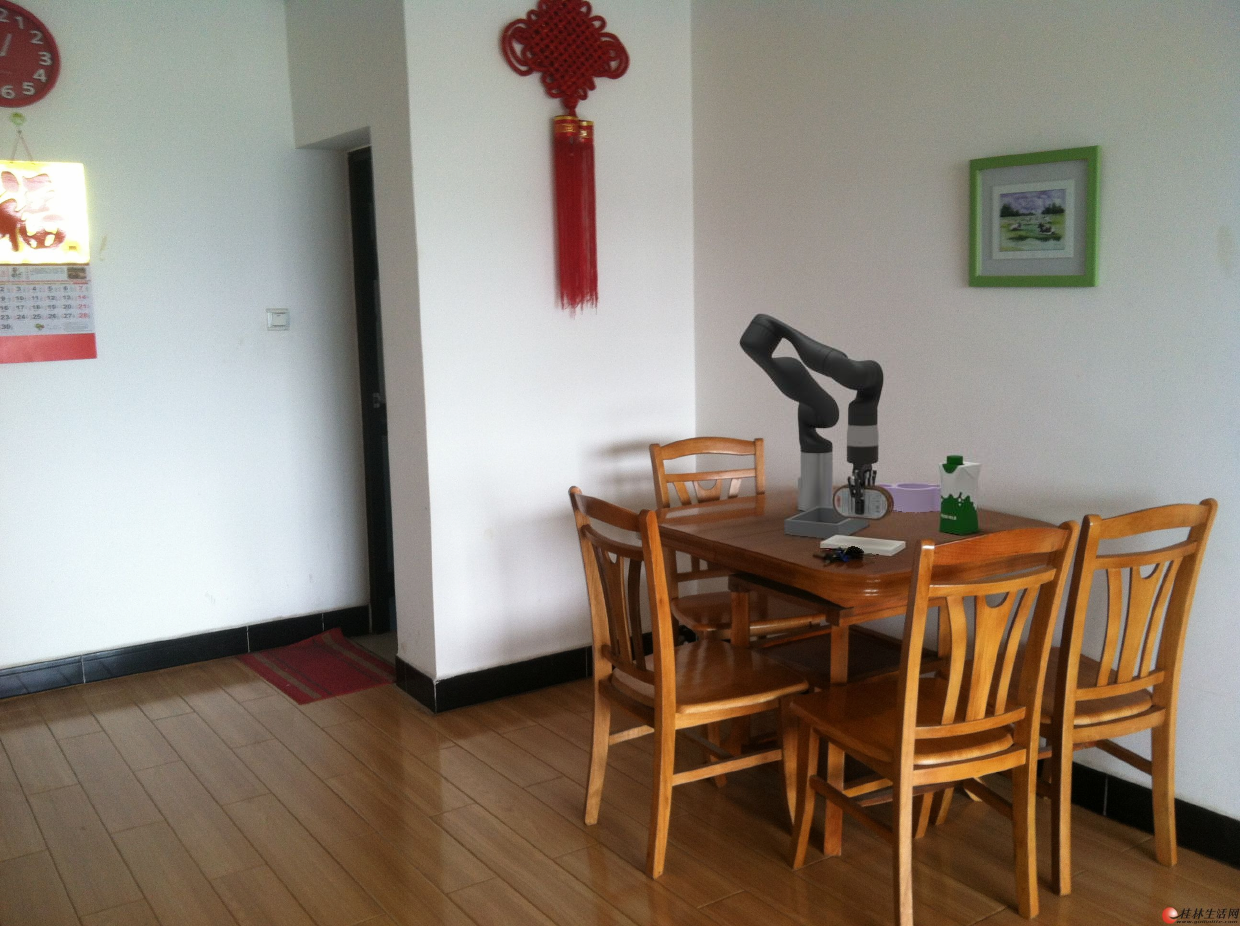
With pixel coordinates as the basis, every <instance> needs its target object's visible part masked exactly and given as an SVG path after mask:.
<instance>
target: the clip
mask: <svg viewBox="0 0 1240 926" xmlns="http://www.w3.org/2000/svg"><path fill="white" fill-rule="evenodd" d="M875 486H880V487H883V488H885V489H887V490H888V491H889V492H890V494H891V495H892V497H893V500H894V508H893V510H897V511H896V512H898V511H902V512H901V513H906V512H915V513H914V514H921V513H920V512H927V513H930V512H929V511H933V512H937V511H941V483H927V482H918V481H917V482H912V481H911V482H909V481H908V482H897V483H875ZM917 512H919V513H917Z"/></svg>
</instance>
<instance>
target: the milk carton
mask: <svg viewBox="0 0 1240 926" xmlns="http://www.w3.org/2000/svg"><path fill="white" fill-rule="evenodd" d="M981 469H982V463H979V462H971V461H964V456H963V455H960V454H959V455H958V454H957V455H956V454H954V455H953V454H951V455H950V454H949V455H946V462H940V463H939V462H938V470H939V474H940V488H941V512H939V513H940V515H939V529H938V531H939V532H943V533H946V532H948V533H947V534H951V533H954V534H953V535H956V534H959V535H958V536H962V535H961V534H965V535H970V534H973V533H972V532H975V533H979V530H980V529H979V519H978V501H979V500H978V498H979V497H978V496H979V493H978V492H979V486H978V485H979V476H980V472H981ZM969 533H970V534H969Z"/></svg>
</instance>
